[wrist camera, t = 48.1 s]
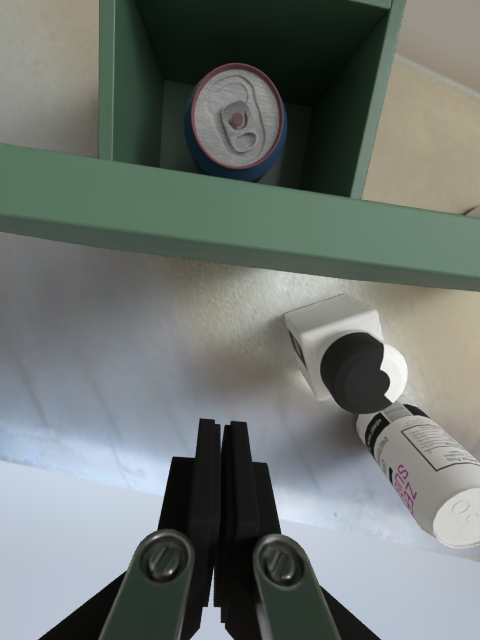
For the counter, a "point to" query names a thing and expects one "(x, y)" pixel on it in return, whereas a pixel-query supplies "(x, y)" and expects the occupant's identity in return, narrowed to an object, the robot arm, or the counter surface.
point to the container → (346, 354)
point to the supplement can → (426, 471)
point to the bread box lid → (232, 221)
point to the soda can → (235, 123)
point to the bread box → (267, 56)
